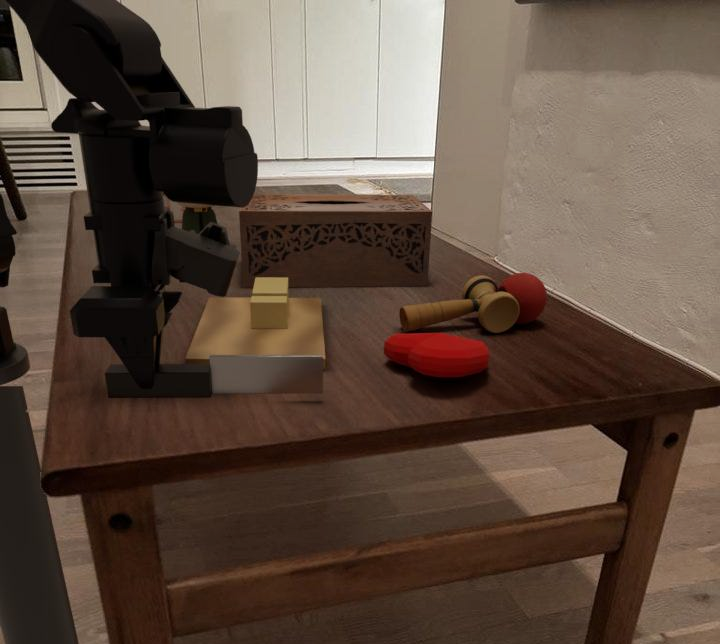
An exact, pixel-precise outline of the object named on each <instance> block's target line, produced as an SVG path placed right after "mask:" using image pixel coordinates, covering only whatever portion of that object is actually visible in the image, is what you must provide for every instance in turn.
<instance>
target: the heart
mask: <svg viewBox="0 0 720 644" xmlns="http://www.w3.org/2000/svg"><path fill="white" fill-rule="evenodd" d="M383 354H384V355H385V356H386V358H388V359H389V361H391V362H394V363H396V364H399V365H402V366H405V367H408V368H411V369H413V370H414V371H415V372H417V373H420V374H422V375H424V376H429V377H437V378H463V377H467V376H470V375H474V374H478V373H481V372H482V371H484V370H485V369H486V368H488V365H489V362H490V348H489V347H488V345H486V343H485V342H484V341H481V340H476V339H471V338H466V337H463V336H462V337H461V336H457V335H452V334H448V333H443V332H418V333H415V332H413V333H395V334H393V335H391V336H390V337H388V338H387V339H386V340H385V341H384V344H383Z"/></svg>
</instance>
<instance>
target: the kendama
mask: <svg viewBox="0 0 720 644" xmlns="http://www.w3.org/2000/svg"><path fill="white" fill-rule="evenodd" d="M547 301H548V293H547V290H546V287H545V284H544V283H543V281H541V279H540V278H539V277H537V276H535V275H534V274H531V273H528V272H517V273H514V274H511V275H508V277H506V278H505V279H504V280H503V281H501V283H500V284H499V286H498V285H497V283H496V282H495V280H494V279H492V278H491V277H489V276H488V275H476V276H473V277H472V278H470V279H469V280H468V281H467V282H466V283H465V285H464V286H463V288H462V291H461V299H451V300H450V299H449V300H441V301H436V302H428V303H419V304H411V305H410V304H409V305H402V306H400V307H399V313H398V315H399V322H400V326H401V328H402V330H403V332H405V333H410V332H412V331H416V330H418V329H422V328H426V327H429V326H432V325H437V324H440V323H444V322H448V321H452V320H454V319H458V318H461V317H463V316H467V315H469V314H472V313H474V312H476V313H477V318H478V322H479V324H480V325H481V326H482V327H483V328H484V330H486V331H487V332H489V333H491V334H501V333H505V332H507V331H508V330H510V329H511V328H512V327H513V326H514V325H515V324H517V325H525V324H528V323H531V322H533V321H535V320H537V319H538V318H539V317H540V316H541V315H542V313H543V311H544V310H545V308H546V305H547Z"/></svg>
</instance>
